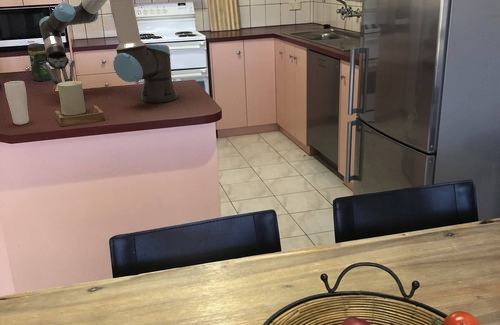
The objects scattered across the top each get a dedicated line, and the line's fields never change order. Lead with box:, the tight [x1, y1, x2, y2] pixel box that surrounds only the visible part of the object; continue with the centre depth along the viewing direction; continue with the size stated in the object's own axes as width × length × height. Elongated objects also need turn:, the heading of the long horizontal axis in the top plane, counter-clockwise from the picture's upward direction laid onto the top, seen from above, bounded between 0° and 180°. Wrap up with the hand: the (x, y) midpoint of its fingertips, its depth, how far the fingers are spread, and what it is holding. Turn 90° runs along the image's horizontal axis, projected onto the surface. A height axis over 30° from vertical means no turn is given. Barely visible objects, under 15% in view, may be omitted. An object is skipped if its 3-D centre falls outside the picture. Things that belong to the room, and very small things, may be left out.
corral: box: [54, 104, 106, 128], centre depth 194 cm, size 13×15×3 cm
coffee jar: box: [27, 42, 52, 82], centre depth 264 cm, size 10×8×19 cm
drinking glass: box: [3, 80, 30, 126], centre depth 188 cm, size 7×7×15 cm
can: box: [56, 80, 87, 116], centre depth 202 cm, size 9×9×12 cm
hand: (67, 96), depth 211 cm, fingers closed
